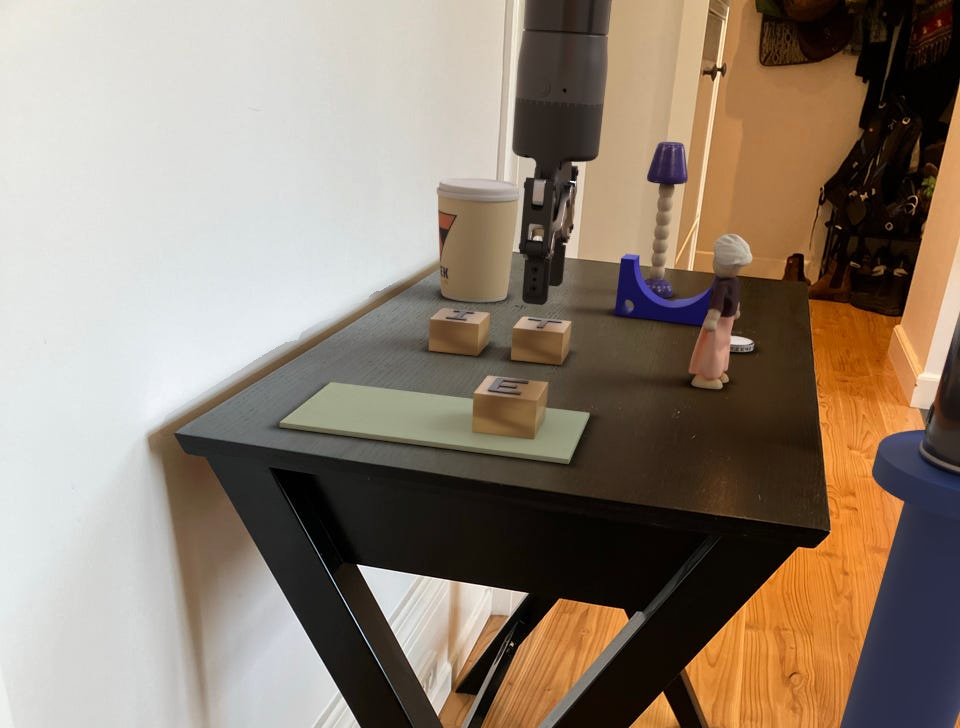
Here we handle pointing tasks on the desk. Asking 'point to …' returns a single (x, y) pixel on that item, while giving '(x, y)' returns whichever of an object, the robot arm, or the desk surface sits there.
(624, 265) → the blue curved cradle
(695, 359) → the grandmother figurine
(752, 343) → the washi tape
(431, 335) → the tile
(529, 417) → the tile
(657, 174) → the toy lamp
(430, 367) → the desk surface
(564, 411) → the word mat
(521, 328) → the tile
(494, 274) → the coffee cup
